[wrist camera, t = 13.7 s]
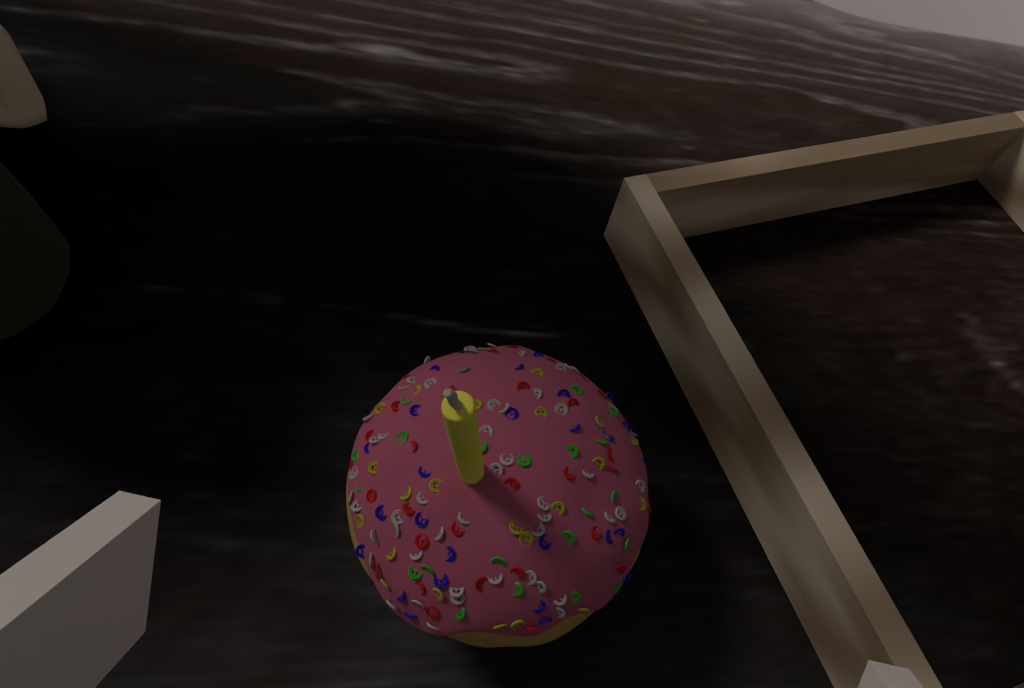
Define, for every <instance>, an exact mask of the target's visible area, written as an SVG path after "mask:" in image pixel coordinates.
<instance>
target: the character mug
mask: <svg viewBox="0 0 1024 688" xmlns="http://www.w3.org/2000/svg"><path fill="white" fill-rule="evenodd" d="M46 120H47V114H46V106H45V103H44V100H43V97H42V94H41V93H40V91H39V89H38V87H37V85H36V83H35V81H34V79H33V78H32V76H31V74H30V72H29V70H28V68H27V66H26V65H25V63H24V61H23V59H22V57H21V55H20V53H19V52H18V50H17V48H16V46H15V44H14V42H13V40H12V39H11V37H10V35H9V34H8V33H7V31H6V30H5V29H4V28H3V27H2V26H1V25H0V127H9V128H26V127H30V126H34V125H38V124H40V123H42V122H44V121H46ZM69 274H70V243H69V242H68V241H67V240H66V238H65V237H64V236H63V234H62V233H61V232H60V230H59V229H58V228H57V227H56V225H55V224H54V223H53V221H52V220H51V219H50V218H49V217H48V215H47V214H46V213H45V212H44V211H43V209H42V208H41V207H40V206H39V204H38V203H37V202H36V201H35V200H34V198H33V197H32V196H31V195H30V194H29V192H28V191H27V190H26V189H25V188H24V187H23V186H22V185H21V184H20V183H19V182H18V181H17V179H16V178H15V177H14V176H13V175H12V174H11V173H10V172H9V171H8V170H7V169H6V168H5V167H4V165H3V164H2V163H1V162H0V340H3V339H6V338H9V337H12V336H15V335H18V334H19V333H21V332H22V331H23V330H25V329H26V328H27V327H29V326H30V325H31V324H33V323H34V322H35V321H37V320H38V319H39V318H41V317H42V316H43V315H45V314H46V313H47V312H49V311H50V310H51V309H53V308H54V305H55V303H56V301H57V299H58V297H59V295H60V293H61V291H62V288H63V286H64V284H65V282H66V280H67V278H68V276H69Z"/></svg>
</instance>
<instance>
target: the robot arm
mask: <svg viewBox="0 0 1024 688" xmlns="http://www.w3.org/2000/svg"><path fill="white" fill-rule="evenodd" d="M160 504H161V500H158V499H154V498H150V497H145V496H141V495H136V494H132V493H127V492H123V491H118V492H117V493H115V494H114V495H113V496H111V497H110V498H108V499H107V500H106V501H104V502H103V503H101V504H100V505H98V506H97V507H96V508H94V509H93V510H91V511H90V512H89V513H87V514H86V515H84V516H83V517H82V518H80V519H79V520H77V521H76V522H74V523H73V524H72V525H70V526H69V527H67V528H66V529H65V530H63V531H62V532H60V533H59V534H57V535H56V536H55V537H53V538H52V539H50V540H49V541H48V542H46V543H45V544H43V545H42V546H40V547H39V548H38V549H36V550H35V551H33V552H32V553H31V554H29V555H28V556H26V557H25V558H23V559H22V560H21V561H19V562H18V563H16V564H15V565H14V566H12V567H11V568H9V569H8V570H7V571H5V572H4V573H2V574H1V575H0V688H95V687H96V686H97V685H98V683H99V682H100V681H101V680H102V679H103V678H104V677H105V676H106V675H107V673H108V672H109V671H110V670H111V669H112V668H113V667H114V666H115V665H116V664H117V662H118V661H119V660H120V659H121V658H122V657H123V656H124V655H125V654H126V652H127V651H128V650H129V649H130V648H131V647H132V646H133V645H134V644H135V642H136V641H137V640H138V639H139V638H140V637H141V636H142V635H143V634H144V632H145V628H146V620H147V611H148V603H149V595H150V587H151V578H152V570H153V562H154V554H155V545H156V537H157V529H158V521H159V512H160ZM858 688H924V687H923V686H922V685H921V684H920V682H919V681H918V680H917V678H916V677H915V676H914V674H913V673H912V672H911V671H910V669H906V668H902V667H898V666H893V665H889V664H884V663H880V662H875V661H871V660H868V662H867V665H866V668H865V670H864V673H863V675H862V678H861V681H860V683H859V686H858Z"/></svg>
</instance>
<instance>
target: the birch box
mask: <svg viewBox="0 0 1024 688" xmlns="http://www.w3.org/2000/svg"><path fill="white" fill-rule="evenodd" d="M976 179H977V180H978V181H979V182H980V183H981V184H982V185H983V186H984V188H985V189H986V190H987V191H988V192H989V193H990V194H991V196H992V197H993V198H994V199H995V200H996V201H997V202H998V204H999V205H1000V206H1001V207H1002V208H1003V209H1004V210H1005V212H1006V213H1007V214H1008V215H1009V216H1010V217H1011V218H1012V219H1013V221H1014V222H1015V223H1016V224H1017V225H1018V226H1019V227H1020V229H1021V230H1022V231H1023V232H1024V111H1018V112H1012V113H1006V114H1000V115H994V116H988V117H982V118H976V119H970V120H964V121H958V122H953V123H947V124H941V125H935V126H929V127H923V128H917V129H911V130H905V131H899V132H893V133H887V134H881V135H875V136H870V137H864V138H858V139H852V140H846V141H840V142H834V143H828V144H822V145H816V146H810V147H804V148H798V149H793V150H787V151H781V152H775V153H769V154H763V155H757V156H751V157H745V158H739V159H733V160H727V161H721V162H715V163H710V164H704V165H698V166H692V167H686V168H680V169H674V170H668V171H662V172H656V173H650V174H644V175H638V176H633V177H627V178H624V180H623V183H622V185H621V188H620V191H619V194H618V197H617V199H616V202H615V205H614V208H613V210H612V213H611V216H610V219H609V222H608V224H607V227H606V230H605V233H604V237H605V238H606V240H607V242H608V244H609V246H610V248H611V250H612V252H613V254H614V256H615V258H616V260H617V262H618V264H619V266H620V268H621V270H622V272H623V274H624V276H625V278H626V280H627V282H628V284H629V286H630V288H631V290H632V292H633V294H634V295H635V297H636V299H637V301H638V303H639V305H640V307H641V309H642V311H643V313H644V315H645V317H646V319H647V321H648V323H649V325H650V327H651V329H652V331H653V333H654V335H655V337H656V339H657V341H658V343H659V345H660V347H661V349H662V350H663V352H664V354H665V356H666V358H667V360H668V362H669V364H670V366H671V368H672V370H673V372H674V374H675V376H676V378H677V380H678V382H679V384H680V386H681V388H682V390H683V392H684V394H685V396H686V398H687V400H688V402H689V404H690V406H691V407H692V409H693V411H694V413H695V415H696V417H697V419H698V421H699V423H700V425H701V427H702V429H703V431H704V433H705V435H706V437H707V439H708V441H709V443H710V445H711V447H712V449H713V451H714V453H715V455H716V457H717V459H718V461H719V462H720V464H721V466H722V468H723V470H724V472H725V474H726V476H727V478H728V480H729V482H730V484H731V486H732V488H733V490H734V492H735V494H736V496H737V498H738V500H739V502H740V504H741V506H742V508H743V510H744V512H745V514H746V516H747V518H748V519H749V521H750V523H751V525H752V527H753V529H754V531H755V533H756V535H757V537H758V539H759V541H760V543H761V545H762V547H763V549H764V551H765V553H766V555H767V557H768V559H769V561H770V563H771V565H772V567H773V569H774V571H775V573H776V574H777V576H778V578H779V580H780V582H781V584H782V586H783V588H784V590H785V592H786V594H787V596H788V598H789V600H790V602H791V604H792V606H793V608H794V610H795V612H796V614H797V616H798V618H799V620H800V622H801V624H802V626H803V628H804V630H805V631H806V633H807V635H808V637H809V639H810V641H811V643H812V645H813V647H814V649H815V651H816V653H817V655H818V657H819V659H820V661H821V663H822V665H823V667H824V669H825V671H826V673H827V675H828V677H829V679H830V681H831V683H832V685H833V687H834V688H858V686H859V683H860V681H861V678H862V675H863V673H864V670H865V668H866V665H867V662H868V660H871V661H875V662H880V663H884V664H889V665H893V666H898V667H902V668H906V669H910V671H911V672H912V673H913V674H914V676H915V677H916V678H917V680H918V681H919V682H920V684H921V685H922V686H923V687H924V688H943V687H942V686H941V684H940V682H939V681H938V679H937V677H936V675H935V674H934V672H933V670H932V668H931V667H930V665H929V663H928V661H927V660H926V658H925V656H924V655H923V653H922V651H921V649H920V648H919V646H918V644H917V642H916V641H915V639H914V637H913V635H912V634H911V632H910V630H909V629H908V627H907V625H906V623H905V622H904V620H903V618H902V616H901V615H900V613H899V611H898V609H897V608H896V606H895V604H894V603H893V601H892V599H891V597H890V596H889V594H888V592H887V590H886V589H885V587H884V585H883V583H882V582H881V580H880V578H879V577H878V575H877V573H876V571H875V570H874V568H873V566H872V564H871V563H870V561H869V559H868V557H867V556H866V554H865V552H864V551H863V549H862V547H861V545H860V544H859V542H858V540H857V538H856V537H855V535H854V533H853V531H852V530H851V528H850V526H849V525H848V523H847V521H846V519H845V518H844V516H843V514H842V512H841V511H840V509H839V507H838V505H837V504H836V502H835V500H834V499H833V497H832V495H831V493H830V492H829V490H828V488H827V486H826V485H825V483H824V481H823V479H822V478H821V476H820V474H819V473H818V471H817V469H816V467H815V466H814V464H813V462H812V460H811V459H810V457H809V455H808V453H807V452H806V450H805V448H804V447H803V445H802V443H801V441H800V440H799V438H798V436H797V434H796V433H795V431H794V429H793V427H792V426H791V424H790V422H789V421H788V419H787V417H786V415H785V414H784V412H783V410H782V408H781V407H780V405H779V403H778V401H777V400H776V398H775V396H774V395H773V393H772V391H771V389H770V388H769V386H768V384H767V382H766V381H765V379H764V377H763V376H762V374H761V372H760V370H759V369H758V367H757V365H756V363H755V362H754V360H753V358H752V356H751V355H750V353H749V351H748V350H747V348H746V346H745V344H744V343H743V341H742V339H741V337H740V336H739V334H738V332H737V330H736V329H735V327H734V325H733V324H732V322H731V320H730V318H729V317H728V315H727V313H726V311H725V310H724V308H723V306H722V304H721V303H720V301H719V299H718V298H717V296H716V294H715V292H714V291H713V289H712V287H711V285H710V284H709V282H708V280H707V278H706V277H705V275H704V273H703V272H702V270H701V268H700V266H699V265H698V263H697V261H696V259H695V258H694V256H693V254H692V252H691V251H690V249H689V247H688V246H687V244H686V242H685V240H684V239H683V238H686V237H691V236H696V235H701V234H706V233H711V232H716V231H721V230H726V229H731V228H736V227H741V226H746V225H751V224H756V223H761V222H766V221H771V220H776V219H781V218H786V217H791V216H796V215H801V214H806V213H811V212H816V211H821V210H826V209H831V208H836V207H841V206H846V205H851V204H856V203H861V202H866V201H871V200H876V199H881V198H886V197H891V196H896V195H901V194H906V193H911V192H916V191H921V190H926V189H931V188H936V187H941V186H946V185H951V184H956V183H961V182H966V181H971V180H976ZM1013 688H1024V683H1022V684H1020V685H1018V686H1015V687H1013Z"/></svg>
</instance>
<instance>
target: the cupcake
mask: <svg viewBox="0 0 1024 688" xmlns="http://www.w3.org/2000/svg"><path fill="white" fill-rule="evenodd" d="M487 345H489V346H491V347H488V348H478V349H476V348H475V347H474V346H466V347H465V348H464V351H459V352H457V353H453V354H449V355H446V356H443V357H440V358H437V359H434V360H432V361H431V358H430V356H427V357H426V358H425V360H424V364H423V365H421V366H419V367H417V368H416V369H414V370H412V371H411V372H410V373H408V374H407V375H406V376H403V377H402V379H401V380H400V381H399V382H398V383H397V384H396V385H395V386H394V387H393V389H392V390H391V391H390V392H389V393H388V394H387V395H386V396H385V397H384V398H383V399H382V400H381V401H380V402H379V403H378V404H377V405H376V406H375V408H374V409H373V411H372V412H371V413H370V414H369V415H367V416H366V417H364V418H363V419H362V420H363V421H364V423H363V424H362V426H361V428H360V430H359V432H358V435H357V437H356V440H355V443H354V447H353V451H352V455H351V459H350V461H349V470H348V476H347V487H346V504H347V514H348V521H349V527H350V533H351V538H352V542H353V545H354V548H355V551H356V554H357V555H358V557H359V559H360V561H361V563H362V565H363V567H364V569H365V571H366V572H367V574H368V575H369V576H370V578H371V579H372V580H373V582H374V584H375V586H376V588H377V590H378V592H379V593H380V595H381V597H382V598H383V600H384V601H385V602H386V604H387V605H388V606H389V607H390V608H391V609H392V610H393V611H394V612H395V613H396V614H397V615H399V616H400V617H401V618H402V619H404V620H405V621H406V622H408V623H409V624H411V625H412V626H414V627H416V628H417V629H419V630H421V631H423V632H426V633H428V634H431V635H436V636H447V637H450V638H452V639H455V640H457V641H460V642H463V643H466V644H469V645H472V646H477V647H522V646H536V645H541V644H544V643H547V642H550V641H552V640H555V639H557V638H559V637H561V636H562V635H564V634H566V633H567V632H569V631H570V630H572V629H573V628H575V627H576V626H577V625H579V624H580V623H581V622H583V621H584V620H585V619H586V618H588V617H589V616H590V615H591V614H592V613H593V612H594V611H596V610H599V609H601V608H602V607H604V606H605V605H606V604H607V603H608V602H609V601H610V600H611V599H612V597H613V596H614V595H615V594H616V593H617V592H618V590H619V589H620V588H621V586H622V584H623V582H628V581H629V580H630V578H631V573H630V570H631V568H632V566H633V565H634V563H635V561H636V559H637V557H638V555H639V552H640V549H641V546H642V544H643V541H644V539H645V536H646V533H647V529H648V522H649V513H650V514H651V513H652V511H651V507H650V504H649V500H648V481H647V471H646V466H645V463H646V464H647V465H648V464H649V463H648V462H647V461H646V460H645V459H644V458H643V455H642V452H641V449H640V447H639V444H638V440H637V439H636V438H635V436H637V434H635V433H634V432H632V431H631V427H630V424H629V422H628V421H627V420H626V419H625V418H624V417H623V416H622V414H621V413H620V412H619V410H618V409H617V407H616V406H615V405H614V404H613V400H614V397H613V394H612V393H611V392H607V393H606V395H605V394H604V393H603V391H602V390H601V389H599V388H598V387H597V386H596V385H595V384H594V383H593V382H592V381H590V380H589V379H588V378H587V377H585V376H584V375H583V374H581V373H580V372H579V371H578V370H577V369H576V368H575V367H573V366H568V365H567V364H566V363H563V362H560V361H558V360H556V359H554V358H551V357H548V356H546V355H543V354H542V353H540V352H538V351H536V352H535V351H533V350H530V349H528V348H525V347H521V346H516V345H506V346H495V345H493V344H490V343H487ZM468 348H470V349H468ZM471 348H472V349H471ZM467 349H468V350H467ZM427 359H428V360H427ZM426 362H427V363H426ZM608 395H610V396H611V397H609V396H608ZM610 398H611V400H610ZM627 575H628V576H627ZM626 577H627V578H626Z"/></svg>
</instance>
